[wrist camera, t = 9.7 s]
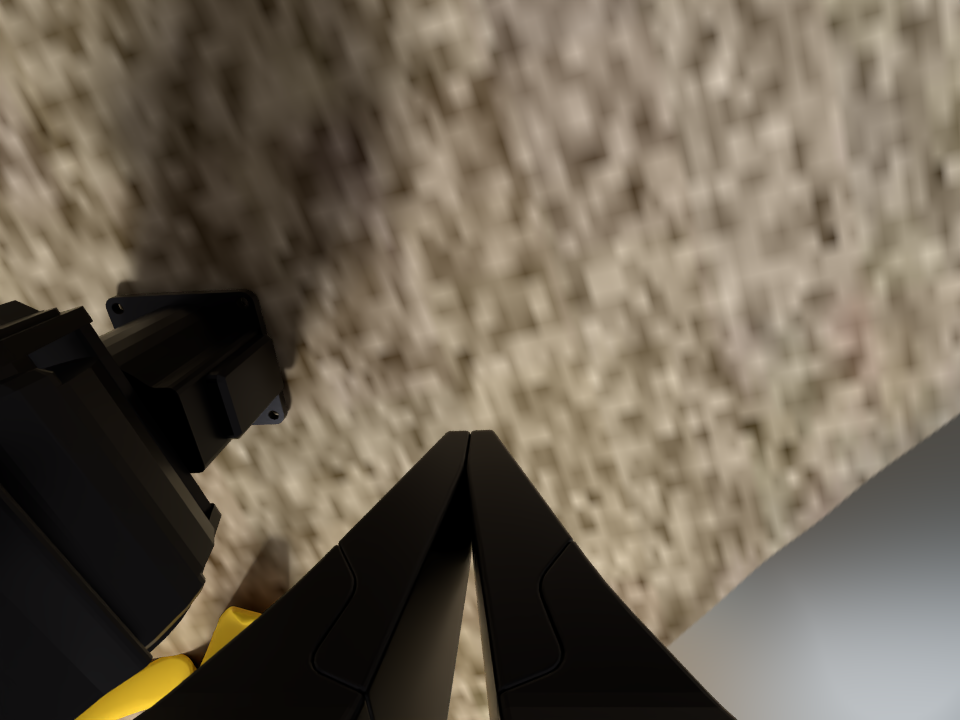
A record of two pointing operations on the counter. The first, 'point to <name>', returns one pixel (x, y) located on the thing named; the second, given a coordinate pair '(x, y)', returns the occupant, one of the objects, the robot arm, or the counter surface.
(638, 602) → the counter surface
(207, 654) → the banana peel
